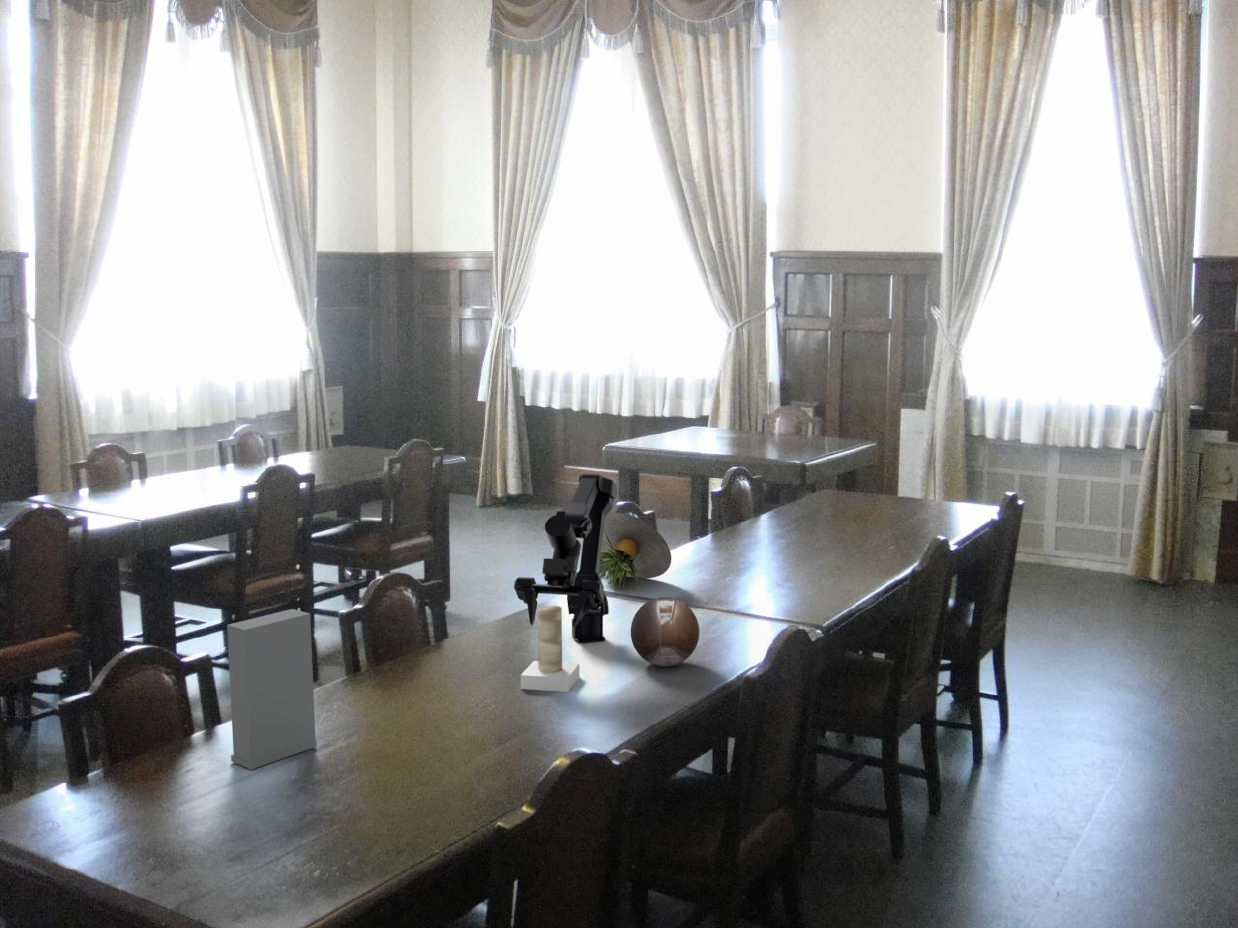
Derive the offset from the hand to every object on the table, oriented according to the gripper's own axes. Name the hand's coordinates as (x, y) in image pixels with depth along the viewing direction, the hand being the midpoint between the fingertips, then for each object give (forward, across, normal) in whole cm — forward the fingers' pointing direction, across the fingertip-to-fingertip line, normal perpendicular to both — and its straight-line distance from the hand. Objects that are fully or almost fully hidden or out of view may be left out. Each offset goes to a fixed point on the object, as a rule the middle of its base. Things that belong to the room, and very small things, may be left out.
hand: (552, 625), depth 260 cm
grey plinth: (+10, 0, +7) cm, 12 cm away
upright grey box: (+44, -38, -28) cm, 64 cm away
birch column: (+8, 0, +5) cm, 9 cm away
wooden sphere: (-2, +21, +19) cm, 29 cm away
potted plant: (-51, -2, +69) cm, 86 cm away
